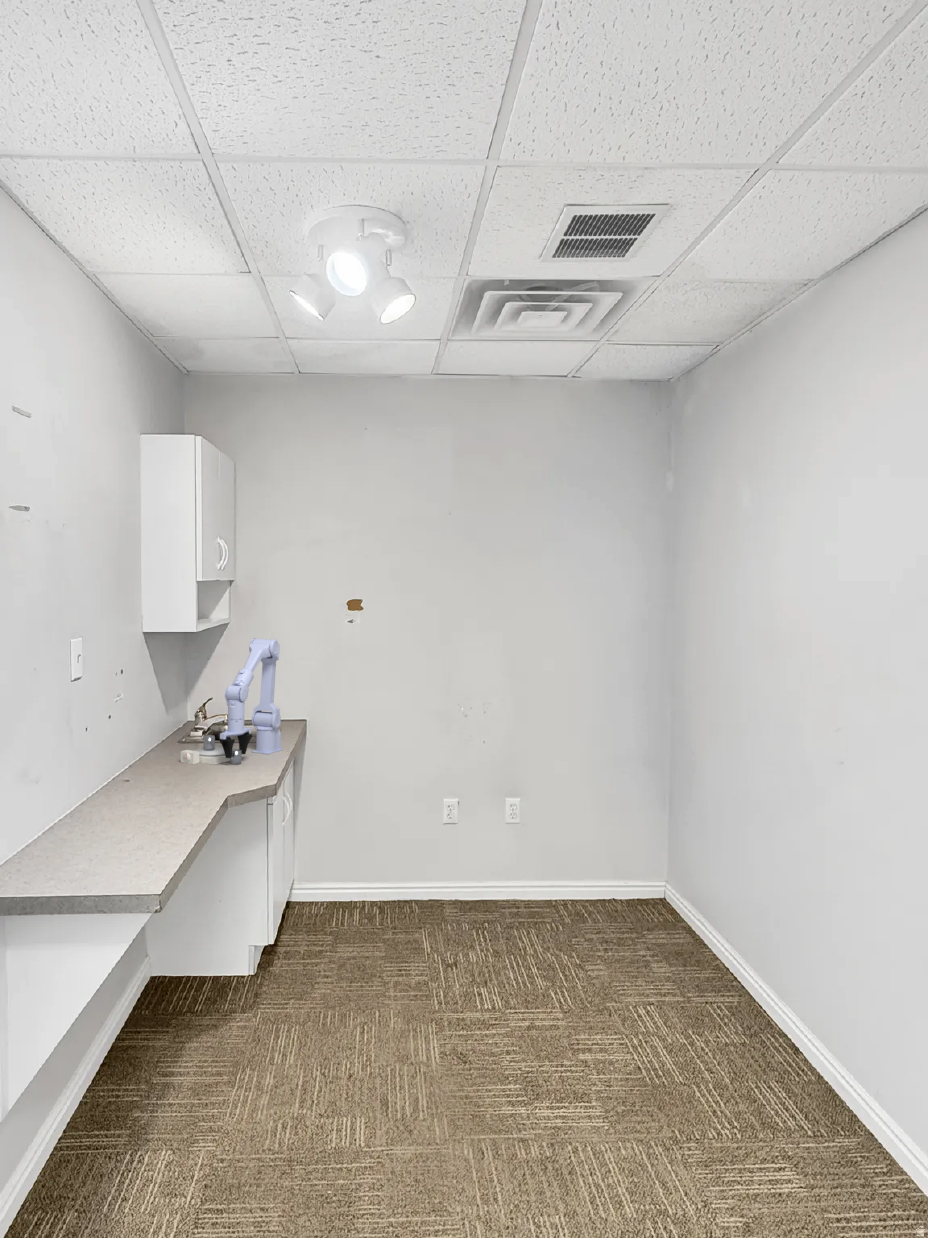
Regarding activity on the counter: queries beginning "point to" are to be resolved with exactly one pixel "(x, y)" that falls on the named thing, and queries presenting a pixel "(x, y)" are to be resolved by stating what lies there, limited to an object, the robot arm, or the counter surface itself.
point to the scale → (204, 756)
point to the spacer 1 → (209, 743)
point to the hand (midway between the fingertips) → (235, 755)
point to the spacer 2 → (236, 757)
